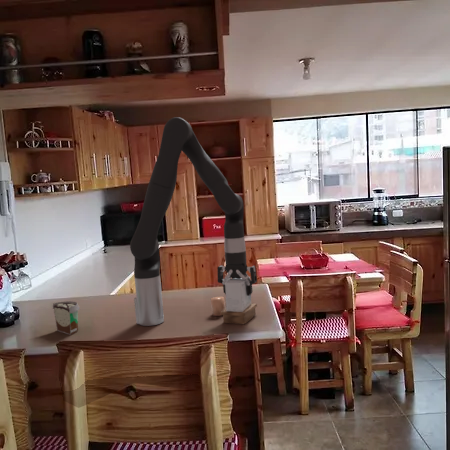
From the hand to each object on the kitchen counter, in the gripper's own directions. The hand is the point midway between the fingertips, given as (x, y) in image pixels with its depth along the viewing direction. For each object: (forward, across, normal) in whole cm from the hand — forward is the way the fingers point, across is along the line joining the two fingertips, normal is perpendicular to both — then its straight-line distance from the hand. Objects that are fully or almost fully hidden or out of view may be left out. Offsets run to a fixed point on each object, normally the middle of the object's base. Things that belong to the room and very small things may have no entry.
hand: (238, 294), depth 174 cm
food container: (+9, +56, +24) cm, 61 cm away
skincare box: (+5, 0, 0) cm, 5 cm away
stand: (+9, 0, 0) cm, 9 cm away
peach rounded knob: (+9, +10, -4) cm, 14 cm away
